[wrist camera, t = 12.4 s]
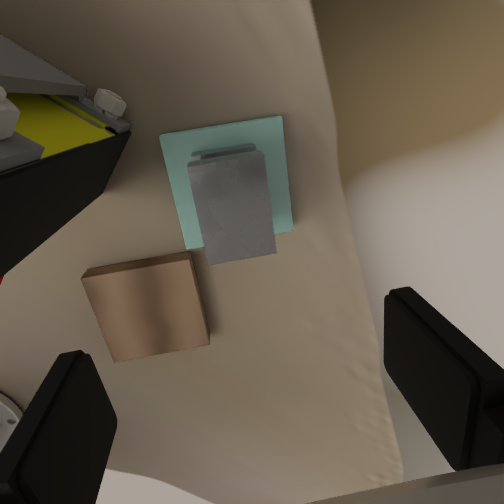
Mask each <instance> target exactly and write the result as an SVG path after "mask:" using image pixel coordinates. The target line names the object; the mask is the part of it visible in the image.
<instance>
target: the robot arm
mask: <svg viewBox="0 0 504 504" xmlns="http://www.w3.org/2000/svg"><path fill="white" fill-rule="evenodd" d="M384 365H385V368H386V371H387V373H388V374H389V376H390V377H391V379H392V380H393V382H394V383H395V384H396V386H397V387H398V389H399V390H400V392H401V393H402V395H403V396H404V398H405V399H406V401H407V402H408V404H409V405H410V407H411V408H412V410H413V411H414V413H415V414H416V416H417V417H418V419H419V420H420V421H421V423H422V424H423V426H424V427H425V429H426V430H427V432H428V433H429V435H430V436H431V438H432V439H433V441H434V442H435V444H436V445H437V447H438V448H439V449H440V451H441V453H442V454H443V455H444V457H445V458H446V460H447V461H448V463H449V464H450V466H451V467H452V468H453V469H454V470H455V471H457V472H452V473H447V474H441V475H436V476H432V477H427V478H421V479H416V480H412V481H407V482H403V483H398V484H393V485H389V486H384V487H380V488H375V489H370V490H366V491H361V492H357V493H352V494H347V495H343V496H338V497H333V498H329V499H324V500H320V501H315V502H311V503H306V504H504V369H503V368H501V367H500V366H499V365H498V364H497V363H496V362H495V361H493V360H492V359H491V358H490V357H489V356H488V355H487V354H486V353H485V352H483V351H482V350H481V349H480V348H479V347H478V346H477V345H476V344H474V343H473V342H472V341H471V340H470V339H469V338H468V337H466V336H465V335H464V334H463V333H462V332H461V331H460V330H459V329H457V328H456V327H455V326H454V325H453V324H451V323H450V322H449V321H448V320H447V319H446V318H445V317H444V316H442V315H441V314H440V313H439V312H438V311H437V310H436V309H435V308H434V307H432V306H431V305H430V304H429V303H428V302H427V301H426V300H425V299H423V298H422V297H421V296H420V295H419V294H418V293H417V292H416V291H414V290H413V289H412V288H411V287H403V288H397V289H392V290H390V292H389V295H386V296H385V298H384ZM116 429H117V417H116V414H115V411H114V409H113V407H112V404H111V402H110V400H109V397H108V395H107V393H106V390H105V388H104V386H103V383H102V381H101V379H100V376H99V374H98V372H97V369H96V367H95V365H94V362H93V360H92V358H91V356H90V355H89V354H85V353H84V352H83V351H82V350H77V351H72V352H67V353H62V354H60V355H59V356H58V357H57V359H56V361H55V362H54V364H53V366H52V367H51V369H50V371H49V372H48V374H47V376H46V377H45V379H44V381H43V382H42V384H41V386H40V387H39V389H38V391H37V392H36V394H35V396H34V397H33V399H32V401H31V402H30V404H29V406H28V407H27V409H26V411H25V412H24V414H22V412H21V410H20V409H19V408H18V407H17V406H16V404H14V403H13V402H12V401H11V400H10V399H9V398H7V397H6V396H4V395H2V394H1V393H0V504H95V503H96V499H97V496H98V492H99V489H100V485H101V482H102V478H103V475H104V471H105V468H106V464H107V461H108V457H109V454H110V450H111V446H112V443H113V439H114V436H115V432H116Z"/></svg>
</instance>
